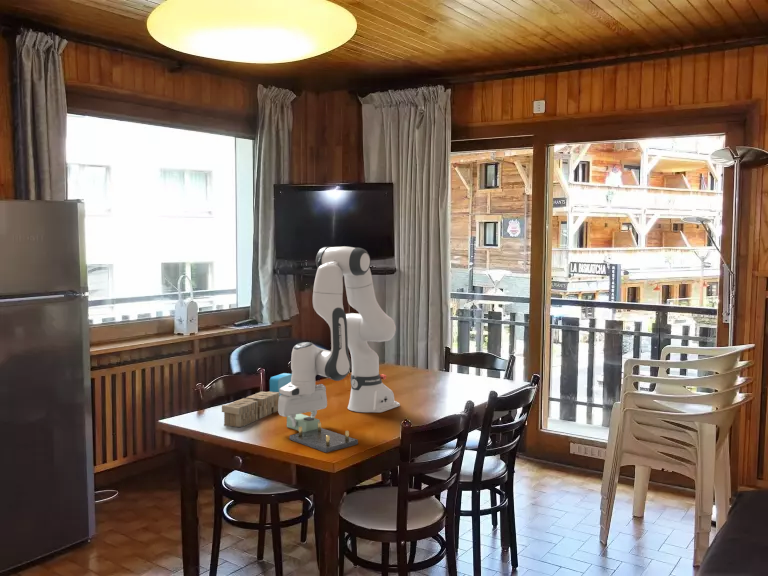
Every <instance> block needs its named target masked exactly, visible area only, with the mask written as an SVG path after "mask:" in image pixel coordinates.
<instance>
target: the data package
mask: <svg viewBox="0 0 768 576" xmlns="http://www.w3.org/2000/svg"><path fill="white" fill-rule="evenodd" d="M291 377H292V373H289V372H288V373H287V372H283V373H280V374H277V375H274V376H270V379H269V391H270V392H279V389H280V388H281V387H283V386H285V385H287V384H288V383H290V382H291ZM280 395H282V394H280V393H279V397H280Z"/></svg>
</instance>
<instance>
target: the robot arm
mask: <svg viewBox="0 0 768 576" xmlns="http://www.w3.org/2000/svg"><path fill="white" fill-rule="evenodd" d="M315 264H316V268H317V270H316V273H315V278H314V283H313V288H312V289H313V292H312V307H313V309H314V312H316V314H317V315H318V316H319V317H321V318H322V319H323V320H324V321H325V322H326V324H328V326H329V330H330V343H331V344H330V347H331V349H330V350H328V349H324V348H321V347H318V346H316V345H315V344H314V343H313V342H309V341H306V342H305V341H304V342H303V341H302V342H299V343H297V344H295V345H294V346H293V348H292V351H291V358H290V369H291V374H292V377H291V382H290V383H288V384H287V385H285V386H283V387H281V388H280V389H279V393H280V394H282V395H280V397H279V400H278V411H277V413H278V414H279V416H281V417H285V418H287V416H289V417H290V419H291V421H292V426H294V427H295V426H298V421H296V420H295V417H296V414H304V413H310V417H313V418H316V416H317V413H318V411H319V410H324V409H326V408H327V406H328V398H327V388H326V385H324V384H323V383H318V384H316V376H317V375H318V376H321V377H325V378H328V379H330V380H333V381H336V382H339V381H341V380H344V379H345V378H346V377H348V374H349V373H350V371H351V374H350V386H351V388H350V395H349V400H348V405H347V409H348V410H349V411H352V412H356V413H383V412H386V411H389V410H392V409H395V408H397V407H400V406H401V403H400V402H398V401H397V400H395V394H394V392H393V390H392V389H390V388H389V387H388V386H386V385H385V384H384V383H383V381H382V380H384V381H385V380H386V379H387V375H386V374H384V373H382V374H380V371H379V370H380V358H379V357H380V356H379V355H378V353H377V352H376V351H375V350H373V348H371V347H370V345H369V343H368V342H375V343H376V342H377V343H382V342H388V341H389V342H390V341H391V340H392V339H393V338H394V336H395V335H396V329H397V326H396V323H395V320H394V319H393V318H392V316H389V315H388V314H386V312H385V311H384V310H383V309H382V307H381V305H380V304H379V302H378V300H377V297H376V293H375V288H374V282H373V276H372V272H371V268H370V266H371V257H370V254H369V253H368V251H367V250H366V249H364V248H362V247H353V246H345V245H344V246H323V247H321V248H320V249H319V250H318V251H317V254H316V256H315ZM344 286H345V291H346V297H347V303H348V304H349V306H350V307H352V308H353V310H356V312H358V313H354V312H350V313H346V312H345V309H344V305H343V303H344V302H343V295H344V294H343V293H344ZM349 353H350V354H349ZM350 357H351V358H350Z"/></svg>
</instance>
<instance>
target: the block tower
mask: <svg viewBox="0 0 768 576" xmlns="http://www.w3.org/2000/svg"><path fill="white" fill-rule="evenodd" d="M278 400H279V392H270V390H269V391H259V392H255V394H251V395H248V396H246V397H243V398H241V399H238V400H235V401H233V402H231V403H228V404H222V405H221V413H223V414H224V417H223V420H224V423H223V425H224V426H229V427H238V428H242V427H245V426H246V425H249V424H251V423H253V422H255V421H258V420H259V419H261V420H262V418H265V417H267V416H270V415H272V413H273V414H274V413H277V412H278Z"/></svg>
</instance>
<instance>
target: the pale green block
mask: <svg viewBox="0 0 768 576" xmlns="http://www.w3.org/2000/svg"><path fill="white" fill-rule="evenodd" d="M310 416H311V415H310ZM310 416H309V415H306V414H304V413H301V414H296V417H295V420H296V421H298V426H295V427H294V426H292V421H291V419H290V417H289V416H287V417H286V428H288V429H293V430H295V431H298V432H299V427H300V426H302V432H306V431H310V430H315V429H318V422H321V420H320V419H318V418H317V417H315V418H313V417H310Z"/></svg>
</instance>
